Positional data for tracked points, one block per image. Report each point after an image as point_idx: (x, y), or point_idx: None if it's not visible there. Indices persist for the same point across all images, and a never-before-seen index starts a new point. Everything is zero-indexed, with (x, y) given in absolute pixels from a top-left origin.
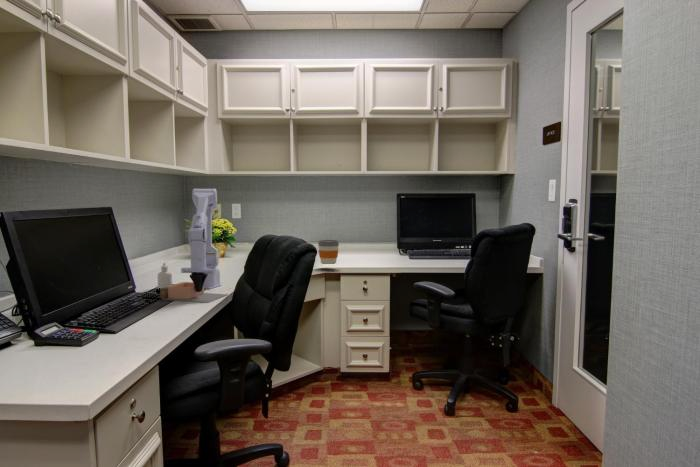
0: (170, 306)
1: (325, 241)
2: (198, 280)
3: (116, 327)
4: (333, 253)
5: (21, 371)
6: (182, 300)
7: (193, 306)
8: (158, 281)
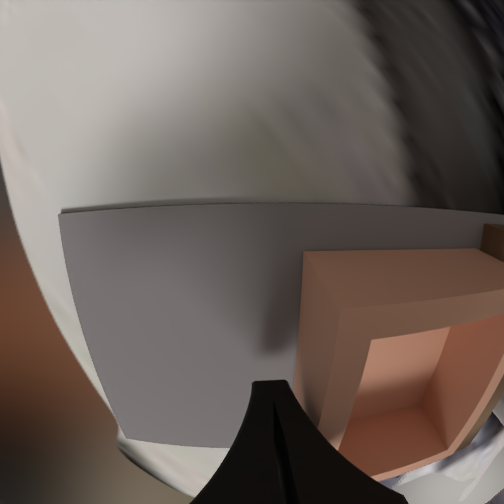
0: (301, 7)
1: None
2: (234, 481)
3: None
4: None
5: None
6: (336, 206)
7: (99, 65)
8: None
